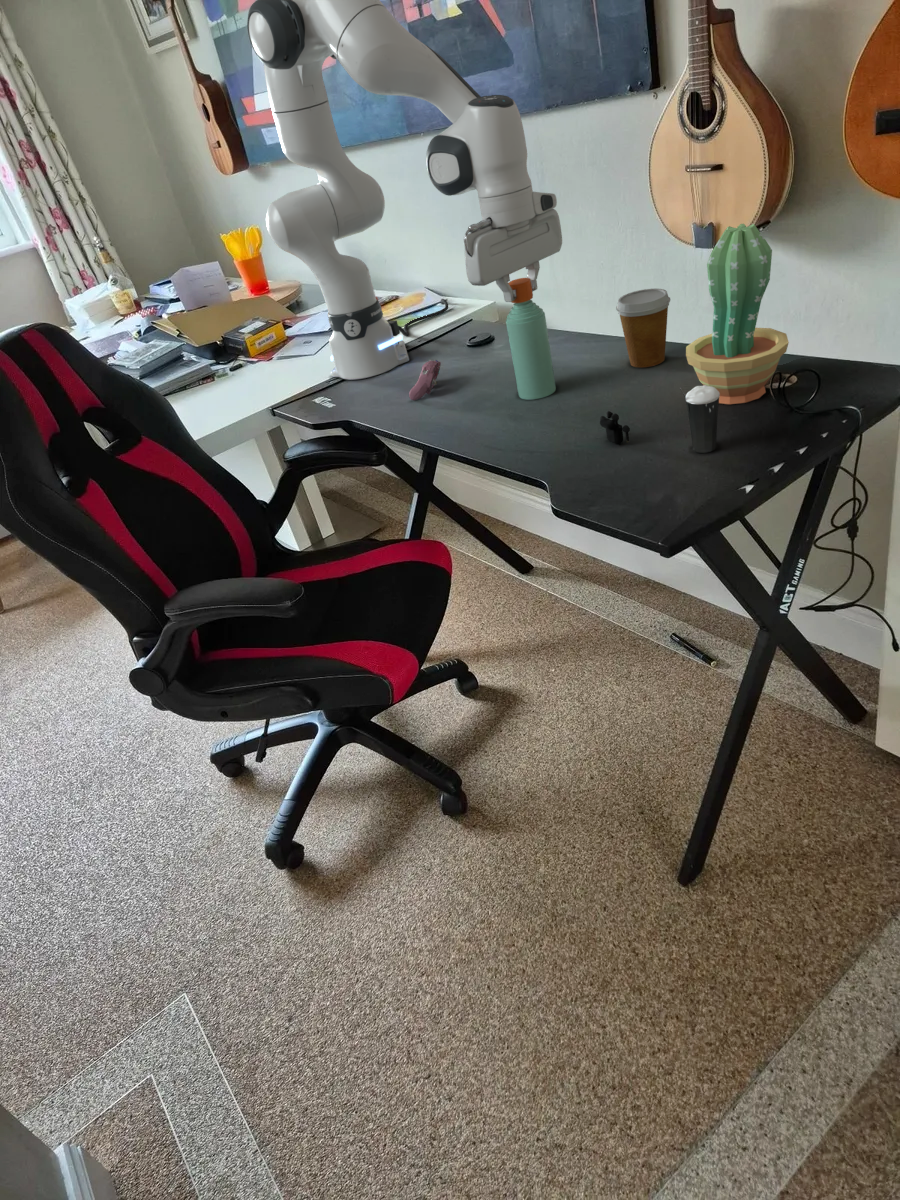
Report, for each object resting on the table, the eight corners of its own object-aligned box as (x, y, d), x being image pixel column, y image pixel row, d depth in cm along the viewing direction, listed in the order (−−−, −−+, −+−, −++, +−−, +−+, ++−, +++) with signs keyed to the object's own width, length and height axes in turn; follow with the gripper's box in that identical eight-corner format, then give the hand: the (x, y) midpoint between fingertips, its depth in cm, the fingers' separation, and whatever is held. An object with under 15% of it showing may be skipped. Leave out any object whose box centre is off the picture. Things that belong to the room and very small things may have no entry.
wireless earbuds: (633, 446, 118) (631, 415, 116) (620, 452, 118) (617, 421, 115) (605, 435, 124) (602, 405, 121) (593, 440, 123) (589, 410, 120)
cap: (536, 298, 135) (533, 279, 133) (515, 304, 134) (512, 286, 132) (528, 294, 138) (525, 276, 136) (507, 300, 137) (504, 282, 136)
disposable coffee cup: (680, 351, 146) (677, 286, 140) (663, 371, 140) (658, 303, 134) (632, 352, 151) (627, 289, 145) (613, 371, 145) (607, 306, 139)
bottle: (513, 392, 148) (494, 287, 137) (547, 381, 149) (531, 276, 138) (526, 403, 142) (508, 294, 131) (561, 391, 143) (546, 282, 132)
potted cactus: (809, 384, 123) (817, 213, 109) (739, 420, 118) (738, 246, 104) (733, 368, 134) (731, 212, 121) (666, 400, 129) (656, 241, 116)
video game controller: (428, 407, 156) (436, 374, 151) (407, 400, 156) (414, 367, 151) (438, 388, 163) (446, 357, 159) (418, 381, 163) (425, 350, 159)
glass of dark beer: (678, 447, 115) (674, 382, 109) (714, 438, 115) (712, 373, 109) (688, 459, 111) (685, 393, 106) (725, 450, 111) (724, 383, 105)
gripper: (475, 228, 121) (491, 317, 129) (562, 192, 130) (573, 277, 138) (449, 229, 125) (466, 315, 133) (535, 194, 135) (547, 276, 142)
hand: (521, 295), depth 136 cm, fingers closed on cap, 4 cm apart
